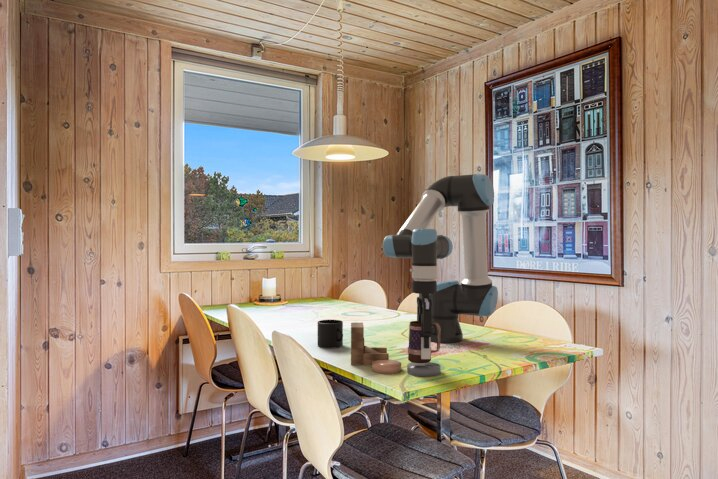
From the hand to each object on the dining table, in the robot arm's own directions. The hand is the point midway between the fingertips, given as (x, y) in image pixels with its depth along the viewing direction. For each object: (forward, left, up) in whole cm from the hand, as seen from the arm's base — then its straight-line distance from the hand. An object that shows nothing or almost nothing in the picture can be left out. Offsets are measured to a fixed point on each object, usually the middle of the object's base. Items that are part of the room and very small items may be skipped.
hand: (423, 355), depth 151 cm
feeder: (+16, -13, -5) cm, 21 cm away
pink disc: (+11, -3, -5) cm, 12 cm away
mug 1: (+29, -36, -5) cm, 47 cm away
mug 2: (0, +1, -2) cm, 2 cm away
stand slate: (0, 0, -5) cm, 5 cm away
